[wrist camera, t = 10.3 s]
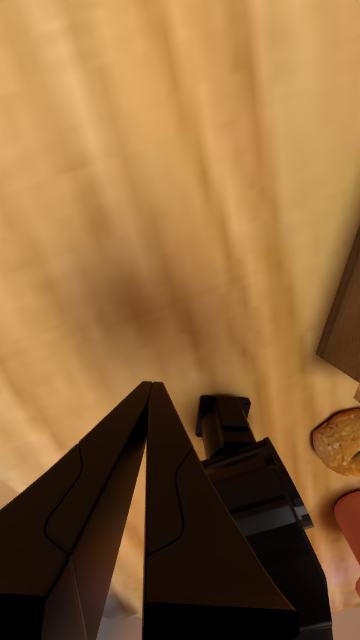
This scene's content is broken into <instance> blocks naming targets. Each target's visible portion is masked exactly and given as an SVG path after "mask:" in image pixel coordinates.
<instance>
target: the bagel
mask: <svg viewBox="0 0 360 640" xmlns="http://www.w3.org/2000/svg"><path fill="white" fill-rule="evenodd" d="M313 446H314V449H315V452H316V454H317V456H318V457H319V458H320V459H321V460H322V462H323V463H324V464H325V465H326V466H327V467H328V468H330V469H332V470H333V471H335V472H336V473H339V474H342V475H345V476H349V474H351V475H354V476H355V477H358V476H360V409H352V410H348V411H344V412H341V413H339V414H337V415H335V416H334V417H333V418H332V419H331V420H330V421H328V422H326V423H324V424H323V425H322V426H321V427H320V428H318V429H316V430H314V432H313Z"/></svg>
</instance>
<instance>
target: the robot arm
mask: <svg viewBox="0 0 360 640" xmlns="http://www.w3.org/2000/svg"><path fill="white" fill-rule="evenodd" d="M203 400H204V401H203ZM245 402H247V403H245ZM250 405H251V402H250V400H249V399H248V398H236V397H219V396H201V397H200V401H199V408H198V415H197V423H196V430H195V434H196V436H197V437H203V440H204V447H205V454H206V460H203V461H200V460H199V458H198V455H197V453H196V451H195V449H193V445H192V443H191V441H190V439H189V437H188V435H187V432H186V430H185V428H184V426H183V424H182V422H181V420H180V417H179V415H178V413H177V411H176V409H175V407H174V405H173V403H172V400H171V398H170V396H169V394H168V392H167V390H166V388H165V386H164V384H163V382H153V383H152V382H151V381H143V382H141V383H140V384H139V385H138V386H137V387H136V388H135V389H134V390H133V391H132V392H131V393H130V394H129V395H128V396H127V397H125V398H124V399H123V400H122V401H121V402H120V403H119V404H118V405H117V406H116V407H115V408H114V409H113V410H112V411H111V412H110V413H109V414H108V415H106V416H105V417H104V418H103V419H102V420H101V421H100V422H99V423H98V424H97V425H96V426H95V427H94V428H93V429H92V430H91V431H90V432H89V433H87V434H86V435H85V436H84V437H83V438H82V439H81V440H80V441H79V443H78V444H76V445H75V446H74V447H73V448H72V449H70V450H69V451H68V452H67V453H66V454H65V455H64V456H63V457H62V458H61V459H60V460H59V461H57V462H56V463H55V464H54V465H53V466H52V467H51V468H50V469H49V470H48V471H46V472H45V473H44V474H43V475H42V476H40V477H39V478H38V479H37V480H36V481H35V482H33V483H32V484H31V485H30V486H29V487H27V488H26V489H25V490H24V491H23V492H21V493H20V494H19V495H18V496H17V497H15V498H14V499H13V500H12V501H11V502H9V503H8V504H7V505H6V506H4V507H3V508H2V509H1V510H0V640H96V638H97V634H98V630H99V626H100V622H101V618H102V614H103V610H104V606H105V603H106V599H107V595H108V591H109V587H110V583H111V579H112V575H113V571H114V567H115V563H116V559H117V555H118V551H119V548H120V544H121V540H122V536H123V532H124V528H125V524H126V520H127V516H128V512H129V508H130V504H131V500H132V496H133V493H134V489H135V485H136V481H137V477H138V473H139V469H140V465H141V461H142V457H143V453H144V449H145V445H146V440H147V447H146V487H145V526H144V565H143V605H142V640H333V635H332V618H331V611H330V604H329V597H328V588H327V581H326V577H325V574H324V571H323V569H322V567H321V565H320V563H319V561H318V558H317V556H316V554H315V552H314V550H313V548H312V546H311V543H310V541H309V539H308V537H307V535H306V533H305V530H306V529H309V528H312V527H314V525H313V523H312V520H311V518H310V516H309V514H308V512H307V510H306V507H305V505H304V503H303V501H302V499H301V497H300V495H299V493H298V491H297V489H296V487H295V485H294V483H293V481H292V479H291V477H290V476H289V474H288V472H287V470H286V468H285V466H284V465H283V463H282V461H281V459H280V457H279V456H278V454H277V452H276V450H275V448H274V446H273V445H272V443H271V441H270V439H269V437H266V438H263V440H261V441H258V442H256V440H255V438H254V435H253V433H252V431H251V428H250V426H249V423H248V421H247V417H248V413H249V409H250Z"/></svg>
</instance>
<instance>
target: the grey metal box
mask: <svg viewBox="0 0 360 640" xmlns="http://www.w3.org/2000/svg"><path fill="white" fill-rule="evenodd" d="M316 354H317V355H318V356H320V357H321V358H323V359H324V360H326V361H327V362H329V363H330V364H332V365H333V366H335V367H336V368H338V369H339V370H341V371H342V372H344V373H345V374H347V375H348V376H350V377H351V378H353V379H354V380H356V381H357V382H359V383H360V227H359V229H358V232H357V235H356V238H355V241H354V244H353V247H352V250H351V253H350V256H349V259H348V262H347V265H346V268H345V271H344V273H343V276H342V279H341V282H340V285H339V288H338V291H337V294H336V297H335V300H334V303H333V306H332V309H331V312H330V314H329V317H328V320H327V323H326V326H325V329H324V332H323V335H322V338H321V341H320V344H319V347H318V350H317V353H316Z"/></svg>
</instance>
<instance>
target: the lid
mask: <svg viewBox="0 0 360 640" xmlns="http://www.w3.org/2000/svg"><path fill="white" fill-rule="evenodd" d="M353 398H354V399H355V400H357V401H358V402H359V403H360V384H359V386H358V388H357V390H356V393H355V395H354V397H353Z"/></svg>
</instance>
